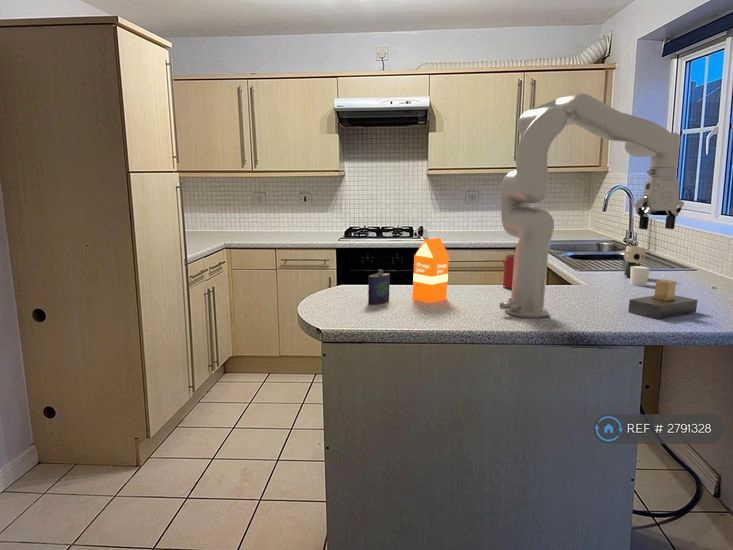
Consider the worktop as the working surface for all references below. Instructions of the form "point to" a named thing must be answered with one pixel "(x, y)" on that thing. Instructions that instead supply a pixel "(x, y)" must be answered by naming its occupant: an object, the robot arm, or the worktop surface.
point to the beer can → (508, 271)
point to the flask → (378, 288)
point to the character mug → (633, 257)
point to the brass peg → (665, 290)
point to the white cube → (639, 275)
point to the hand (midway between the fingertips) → (656, 228)
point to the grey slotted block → (662, 307)
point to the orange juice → (430, 271)
